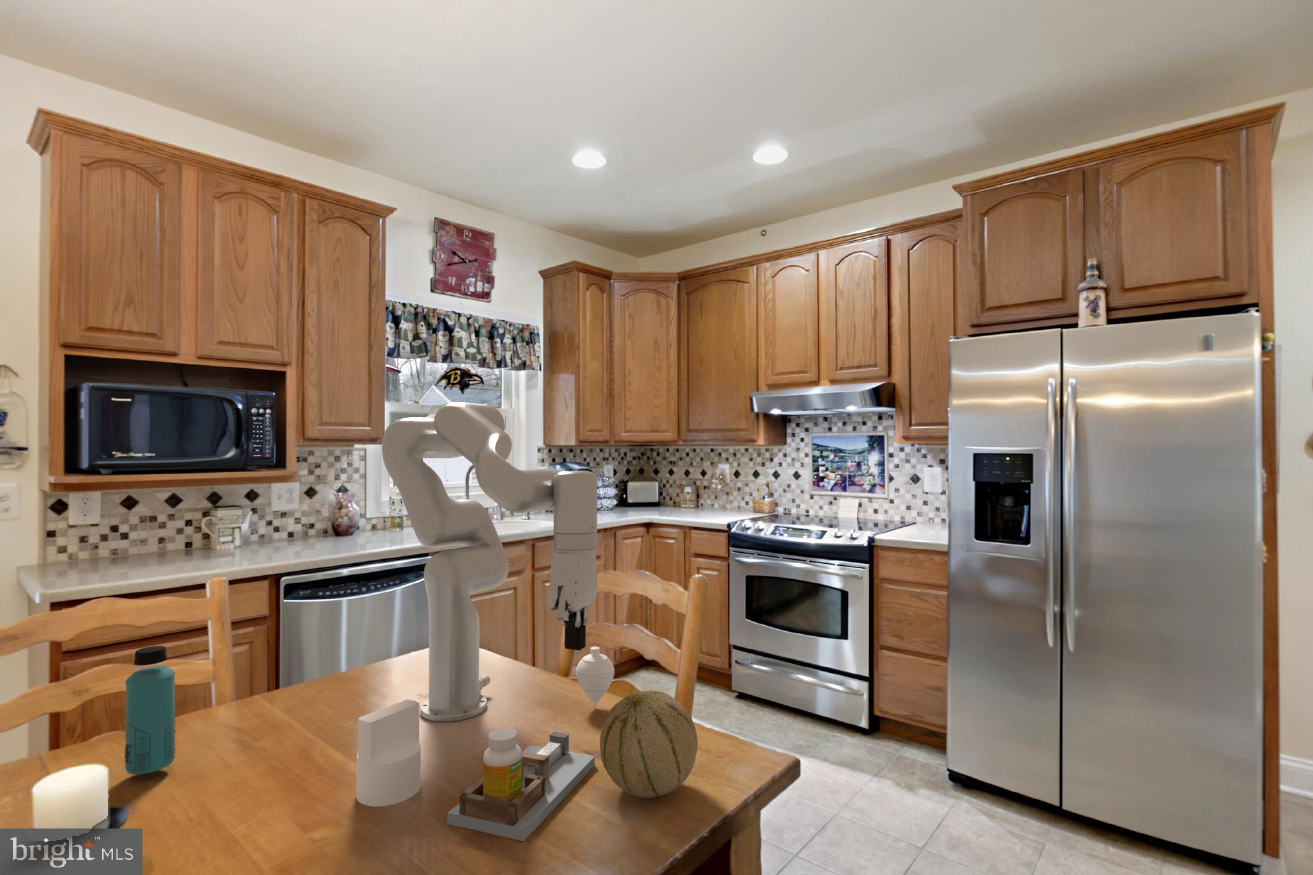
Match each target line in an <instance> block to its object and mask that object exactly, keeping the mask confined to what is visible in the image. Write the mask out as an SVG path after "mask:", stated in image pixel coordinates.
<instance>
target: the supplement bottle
mask: <svg viewBox="0 0 1313 875" xmlns="http://www.w3.org/2000/svg"><path fill="white" fill-rule="evenodd" d="M487 744H488V745H487V746H488V747H487V748H486V749H485V751H484V753H483V756H482V777H483V796H484V797H489V798H494V799H499V800H504V801H508V802H512V801H513V800H514V799H515V798H516V797H517V796H518V795H519V794H520V793H521V792H522V751H523V750H522V748H521V747H520V746H519V745H518V732H517V731H516V730H515V729H513V728H508V727H506V728H505V727H503V728H497V729H494V730H492V731H490V732H489V733H488V737H487Z"/></svg>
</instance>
